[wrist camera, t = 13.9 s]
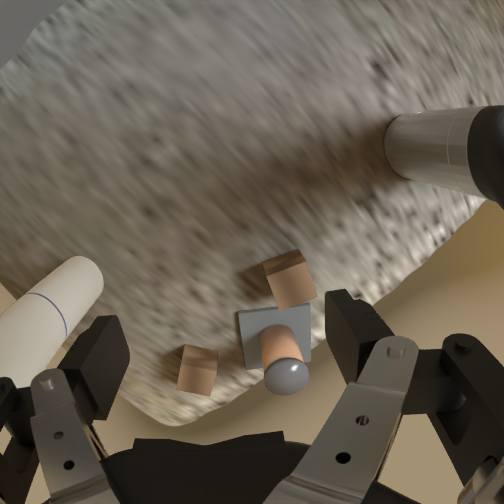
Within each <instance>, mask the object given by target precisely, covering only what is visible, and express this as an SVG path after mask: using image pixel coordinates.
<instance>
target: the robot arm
mask: <svg viewBox="0 0 504 504" xmlns="http://www.w3.org/2000/svg"><path fill="white" fill-rule="evenodd" d="M384 150H385V155H386V158H387V160H388V162H389V164H390V166H391V167H392V168H393V170H394V171H395V172H396V173H398V174H399V175H400V176H402V177H404V178H407V179H411V180H416V181H420V182H423V183H428V184H432V185H436V186H440V187H444V188H448V189H452V190H455V191H459V192H463V193H466V194H470V195H474V196H478V197H481V198H485V199H488V200H492V201H495V202H497V203H498V204H499V205H500V206H501V208H502V209H504V106H503V105H498V106H481V107H469V108H457V109H447V110H437V111H429V112H420V113H412V114H406V115H401V116H399V117H397V118H396V119H394V120H393V121H392V122H391V124H390V125H389V126H388V128H387V131H386V133H385V138H384ZM325 333H326V339H327V342H328V345H329V347H330V349H331V351H332V353H333V355H334V358H335V360H336V362H337V364H338V366H339V369H340V371H341V373H342V375H343V377H344V379H345V382H346V384H347V387H346V389H345V390H344V392H343V394H342V396H341V398H340V399H339V401H338V403H337V404H336V406H335V408H334V409H333V411H332V413H331V414H330V416H329V418H328V419H327V421H326V423H325V424H324V426H323V428H322V430H321V431H320V432H319V434H318V435H317V437H316V439H315V440H314V442H313V443H312V445H308V444H304V443H298V442H292V441H285V440H284V435H283V431H277V432H270V433H262V434H254V435H244V436H241V437H237V438H234V439H230V440H227V441H223V442H219V443H215V444H211V445H198V444H192V443H186V442H181V441H176V440H171V439H139V438H135V440H134V444H133V448H132V449H128V450H124V451H121V452H118V453H115V454H113V455H111V456H109V455H108V453H107V451H106V450H105V448H104V446H103V444H102V442H101V440H100V438H99V436H98V434H97V432H96V430H95V428H94V427H93V425H92V423H93V420H107V417H108V414H109V412H110V409H111V407H112V404H113V402H114V399H115V396H116V394H117V391H118V389H119V386H120V384H121V382H122V379H123V377H124V374H125V372H126V369H127V367H128V365H129V361H130V353H129V348H128V345H127V342H126V339H125V336H124V334H123V331H122V327H121V324H120V321H119V319H118V317H117V316H116V315H109V316H98V317H97V318H96V319H95V321H94V322H93V323H92V325H91V326H90V328H89V329H87V330H86V331H84V332H83V333H82V334H80V335H79V336H78V338H77V339H76V341H75V342H74V345H72V346H71V348H70V349H69V351H68V352H67V354H66V355H65V357H64V358H63V360H62V361H61V362H60V364H59V365H58V367H57V368H53V369H47V370H44V371H42V372H40V373H39V374H37V375H36V376H35V377H34V378H33V380H32V381H31V384H30V386H28V387H22V388H17V387H16V386H15V384H14V382H13V380H12V379H11V378H9V377H0V432H1V430H2V428H3V426H5V427H6V429H7V430H8V431H9V433H10V434H11V436H12V438H11V440H10V442H9V444H8V446H7V448H6V450H5V452H4V454H3V455H2V454H1V453H0V504H25V501H26V498H27V495H28V492H29V489H30V486H31V483H32V481H33V478H34V475H35V473H36V470H37V467H38V465H39V462H40V464H41V467H42V471H43V474H44V478H45V480H46V484H47V487H48V490H49V493H50V496H51V498H49V499H48V500H46V501H45V502H44V503H42V504H421V503H418V502H416V501H414V500H412V499H410V498H408V497H406V496H404V495H402V494H400V493H398V492H396V491H394V490H392V489H391V488H389V487H387V486H385V485H383V484H381V483H379V482H378V480H379V477H380V475H381V473H382V470H383V468H384V465H385V463H386V460H387V457H388V455H389V452H390V450H391V447H392V445H393V442H394V439H395V437H396V434H397V431H398V428H399V425H400V423H401V420H402V417H403V415H410V414H427V415H428V417H429V419H430V421H431V423H432V425H433V427H434V428H435V430H436V432H437V434H438V436H439V438H440V440H441V442H442V444H443V446H444V448H445V449H446V451H447V454H448V456H449V457H450V459H451V461H452V463H453V465H454V468H455V470H456V472H457V474H458V475H459V478H460V480H461V482H462V484H463V486H464V488H463V489H462V491H461V492H460V494H459V496H458V501H457V504H504V367H503V366H502V364H501V363H499V361H498V360H497V359H496V358H495V357H494V356H493V355H492V354H491V353H490V351H489V350H488V349H487V348H486V347H485V346H484V345H483V344H482V343H481V342H480V341H479V340H478V339H477V338H475V337H473V336H471V335H468V334H452V335H450V336H448V337H446V338H445V340H444V341H443V345H442V349H430V350H420V349H418V346H417V345H416V343H415V342H414V341H412V340H410V339H409V338H406V337H402V336H395V335H394V333H393V332H392V331H391V330H390V328H389V327H388V326H387V325H386V324H385V322H384V321H383V320H382V319H381V317H380V316H379V315H378V313H376V311H375V310H374V308H373V307H372V306H371V305H370V304H368V303H367V302H365V301H363V300H361V299H358V300H354V299H353V298H352V297H351V295H350V294H349V293H348V291H347V290H346V289H340V290H334V291H327V292H326V293H325Z"/></svg>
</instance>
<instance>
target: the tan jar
mask: <svg viewBox="0 0 504 504" xmlns="http://www.w3.org/2000/svg"><path fill="white" fill-rule="evenodd" d="M259 345H260V351H261V357H262V363H263V369H264V381H265V386H266V388H267V389H268V390H269V391H270V392H271V393H273V394H276V395H282V396H283V395H291V394H294V393H296V392H299V391H300V390H302V389H303V388H304V387H305V386H306V384H307V383H308V381H309V372H308V369H307V366H306V365H305V363H304V361H303V358H302V355H301V353H300V350H299V347H298V344H297V341H296V338H295V335H294V333H293V331H292V330H291V329H290V328H289V327H287V326H285V325H280V324H277V325H272V326H269V327H267V328H266V329H265V330H264V331H263V332H262V333H261V334H260V337H259Z"/></svg>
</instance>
